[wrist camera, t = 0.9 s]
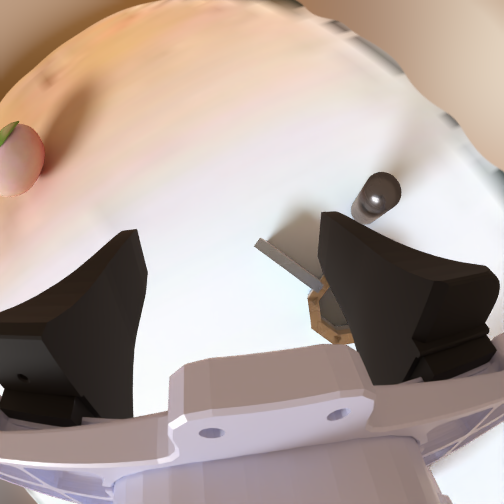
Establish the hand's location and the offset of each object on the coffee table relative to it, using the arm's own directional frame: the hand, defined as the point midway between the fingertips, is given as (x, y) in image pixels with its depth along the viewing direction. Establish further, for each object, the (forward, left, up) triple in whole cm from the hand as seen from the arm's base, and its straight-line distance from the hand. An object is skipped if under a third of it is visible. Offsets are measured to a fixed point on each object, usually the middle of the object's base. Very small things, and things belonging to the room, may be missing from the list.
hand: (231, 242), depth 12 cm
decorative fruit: (+31, +9, -16) cm, 36 cm away
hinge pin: (-4, -7, -16) cm, 18 cm away
